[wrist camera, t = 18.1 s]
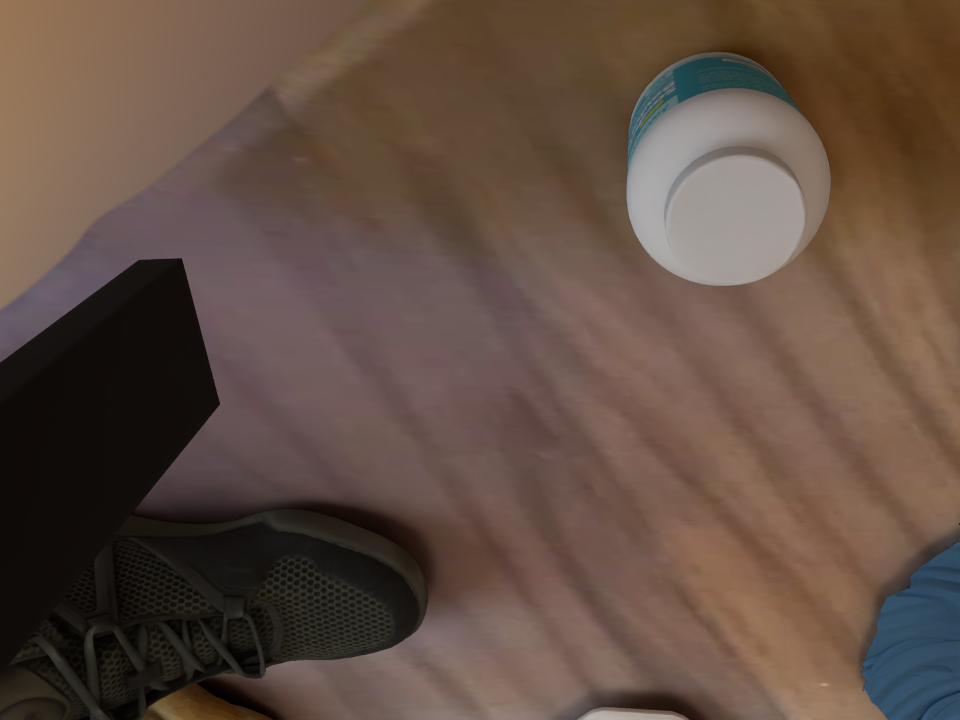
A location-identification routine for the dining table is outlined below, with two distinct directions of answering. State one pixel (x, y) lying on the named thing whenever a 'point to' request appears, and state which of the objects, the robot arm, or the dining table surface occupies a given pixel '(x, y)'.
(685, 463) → the dining table surface
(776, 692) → the dining table surface
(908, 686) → the blue ocean wave diorama
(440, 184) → the dining table surface
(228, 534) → the sneaker
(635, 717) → the plate
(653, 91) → the pill bottle
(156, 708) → the bread
